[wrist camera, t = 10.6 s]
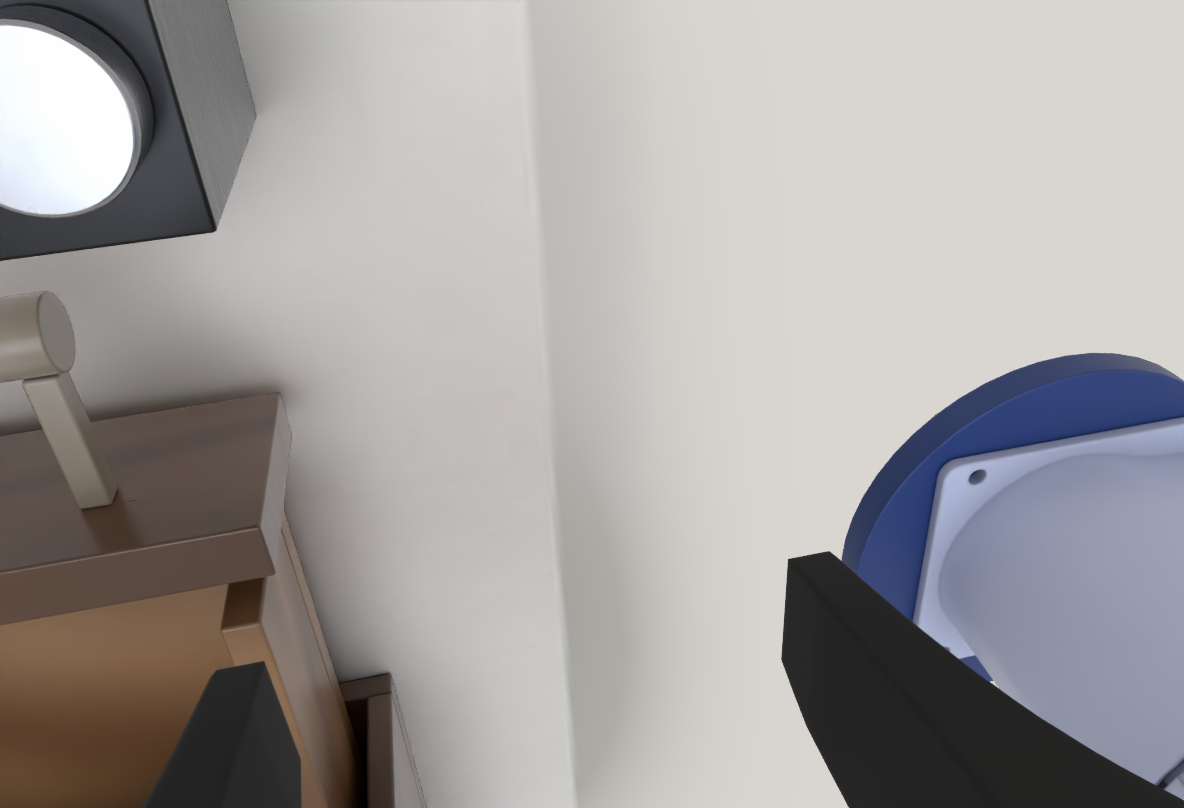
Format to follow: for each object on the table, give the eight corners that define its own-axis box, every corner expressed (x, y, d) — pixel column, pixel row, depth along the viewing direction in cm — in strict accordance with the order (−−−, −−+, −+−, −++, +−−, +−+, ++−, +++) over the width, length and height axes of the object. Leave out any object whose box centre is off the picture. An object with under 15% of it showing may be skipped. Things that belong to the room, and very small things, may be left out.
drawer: (-418, 293, 17) (-654, 439, 13) (227, 208, 18) (190, 317, 14) (-11, 856, 26) (-75, 1037, 22) (390, 771, 28) (394, 927, 24)
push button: (197, -116, 16) (103, -72, 10) (257, 118, 18) (207, 261, 13) (12, -99, 16) (-193, -44, 10) (96, 137, 18) (-33, 294, 12)
